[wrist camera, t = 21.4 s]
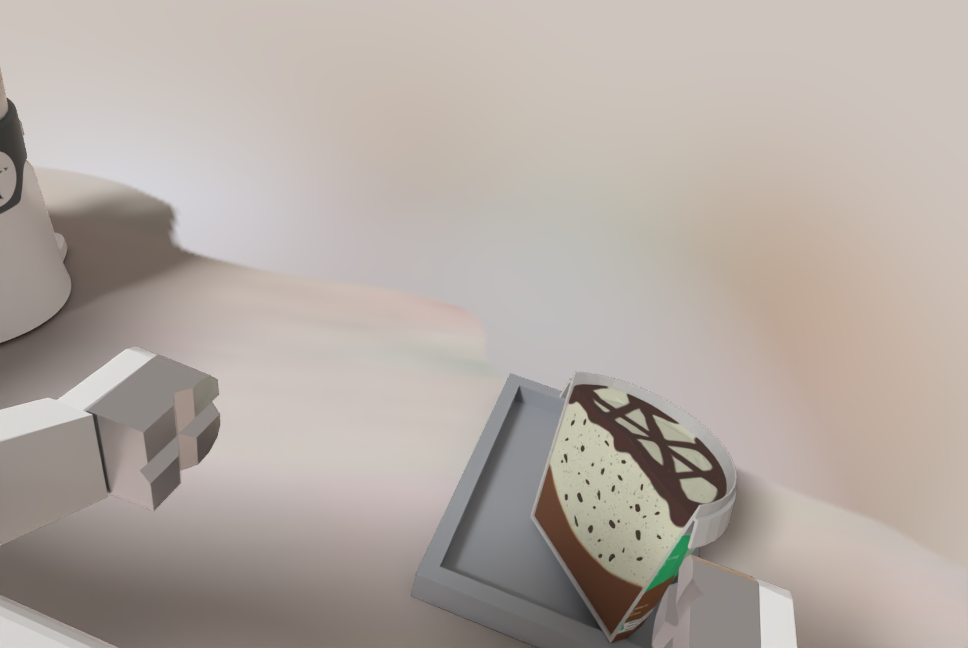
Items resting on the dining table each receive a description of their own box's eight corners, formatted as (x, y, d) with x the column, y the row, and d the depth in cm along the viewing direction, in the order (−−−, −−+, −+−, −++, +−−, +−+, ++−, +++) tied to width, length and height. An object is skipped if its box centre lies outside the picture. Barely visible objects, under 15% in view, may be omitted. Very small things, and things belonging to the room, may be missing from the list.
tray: (411, 595, 38) (415, 574, 36) (504, 392, 53) (510, 373, 52) (677, 705, 35) (691, 685, 34) (694, 460, 51) (704, 441, 50)
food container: (715, 648, 37) (800, 505, 33) (626, 668, 34) (708, 514, 30) (596, 494, 47) (651, 369, 43) (519, 500, 44) (570, 366, 40)
